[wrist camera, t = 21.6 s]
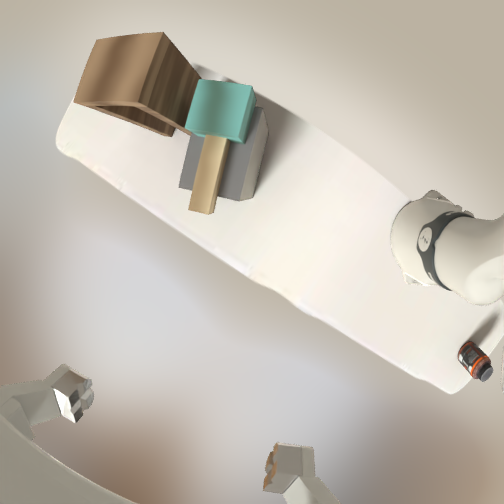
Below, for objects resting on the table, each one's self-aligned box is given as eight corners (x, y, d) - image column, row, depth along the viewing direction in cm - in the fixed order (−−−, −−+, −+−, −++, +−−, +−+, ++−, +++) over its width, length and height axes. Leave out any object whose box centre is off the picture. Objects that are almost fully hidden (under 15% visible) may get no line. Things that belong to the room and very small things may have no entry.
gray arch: (268, 132, 45) (262, 108, 30) (252, 198, 48) (239, 201, 33) (224, 123, 45) (201, 98, 31) (208, 187, 48) (178, 187, 33)
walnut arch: (219, 102, 44) (163, 32, 19) (208, 142, 46) (137, 101, 21) (175, 97, 45) (96, 39, 19) (164, 135, 47) (73, 102, 21)
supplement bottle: (453, 360, 50) (473, 385, 39) (464, 339, 49) (487, 363, 38) (466, 361, 50) (487, 385, 39) (477, 342, 48) (500, 364, 38)
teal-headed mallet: (256, 100, 30) (252, 85, 25) (227, 216, 34) (218, 220, 29) (210, 92, 30) (199, 79, 25) (182, 205, 34) (166, 208, 29)
